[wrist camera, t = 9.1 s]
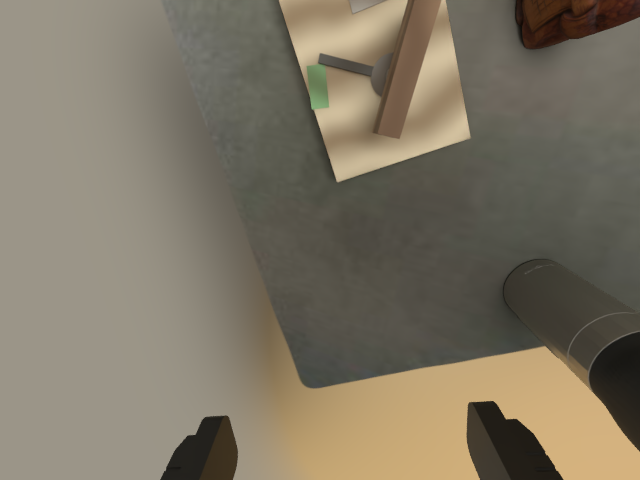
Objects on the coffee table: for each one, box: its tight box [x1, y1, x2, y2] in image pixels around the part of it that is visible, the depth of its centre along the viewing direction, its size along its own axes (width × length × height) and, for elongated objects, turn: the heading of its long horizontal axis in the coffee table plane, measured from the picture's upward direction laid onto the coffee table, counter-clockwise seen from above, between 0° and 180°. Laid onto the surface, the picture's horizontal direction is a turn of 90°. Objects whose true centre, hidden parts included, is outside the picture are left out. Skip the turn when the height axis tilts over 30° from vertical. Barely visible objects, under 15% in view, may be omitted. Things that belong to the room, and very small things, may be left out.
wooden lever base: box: [279, 0, 470, 182], centre depth 37 cm, size 22×16×5 cm
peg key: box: [318, 0, 441, 139], centre depth 30 cm, size 10×12×9 cm
